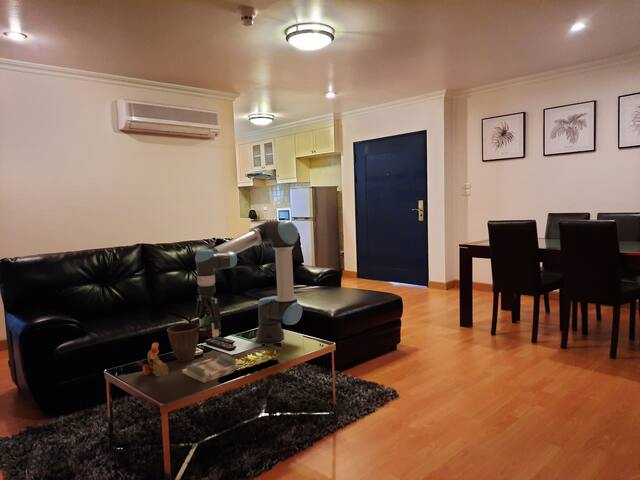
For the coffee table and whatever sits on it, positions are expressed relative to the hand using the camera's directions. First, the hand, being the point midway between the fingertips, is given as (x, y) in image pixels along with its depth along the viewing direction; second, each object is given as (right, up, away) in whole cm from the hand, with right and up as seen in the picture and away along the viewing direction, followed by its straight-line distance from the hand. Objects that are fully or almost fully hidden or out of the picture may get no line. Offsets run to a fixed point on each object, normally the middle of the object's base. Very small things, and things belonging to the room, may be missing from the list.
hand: (209, 334), depth 197 cm
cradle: (+1, -17, +1) cm, 17 cm away
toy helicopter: (-22, -18, -2) cm, 29 cm away
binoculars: (0, -1, 0) cm, 1 cm away
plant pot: (-16, -16, +18) cm, 29 cm away
